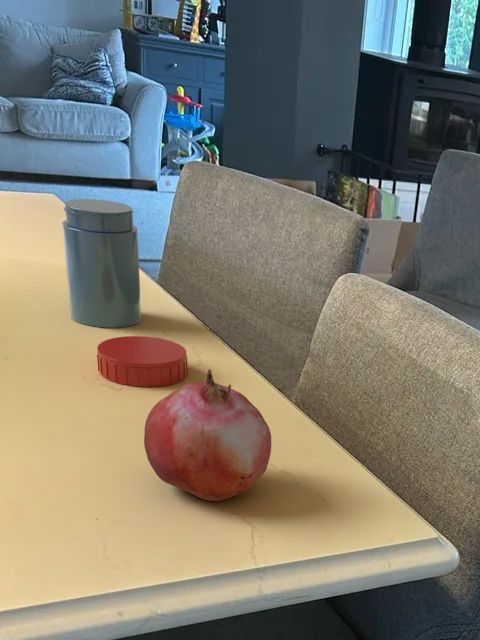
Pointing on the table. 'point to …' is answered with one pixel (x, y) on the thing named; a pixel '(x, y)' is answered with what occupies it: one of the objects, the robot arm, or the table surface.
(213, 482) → the fruit
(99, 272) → the jar
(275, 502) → the table surface
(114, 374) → the lid
